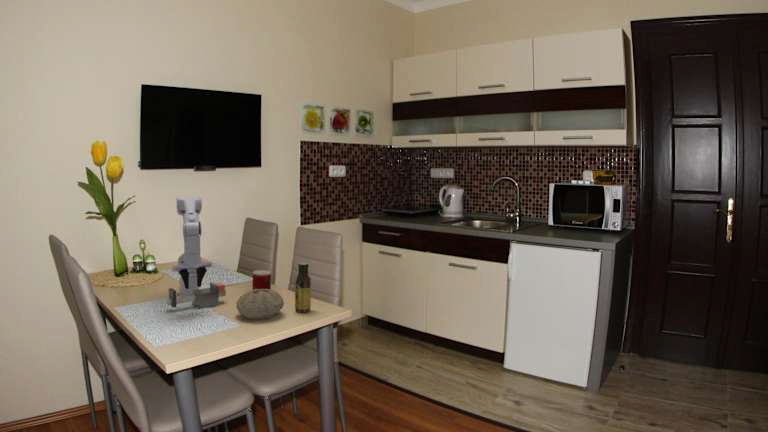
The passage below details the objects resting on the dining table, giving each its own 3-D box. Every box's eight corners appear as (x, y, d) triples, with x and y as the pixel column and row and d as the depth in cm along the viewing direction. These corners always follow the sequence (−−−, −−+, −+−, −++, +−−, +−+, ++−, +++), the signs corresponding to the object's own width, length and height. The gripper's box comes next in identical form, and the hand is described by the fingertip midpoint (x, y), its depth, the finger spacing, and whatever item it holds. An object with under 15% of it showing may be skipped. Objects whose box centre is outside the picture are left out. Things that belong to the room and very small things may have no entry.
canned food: (266, 299, 208) (267, 275, 207) (249, 297, 210) (249, 273, 208) (273, 294, 216) (274, 271, 214) (256, 293, 217) (257, 269, 216)
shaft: (165, 305, 190) (165, 289, 190) (222, 295, 205) (222, 280, 205) (169, 308, 187) (169, 291, 186) (227, 298, 202) (226, 283, 201)
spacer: (214, 289, 202) (213, 283, 202) (221, 288, 204) (220, 282, 204) (217, 292, 199) (217, 286, 199) (224, 291, 201) (224, 284, 201)
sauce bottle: (295, 308, 197) (296, 261, 195) (311, 308, 198) (311, 261, 196) (294, 313, 191) (294, 264, 188) (310, 313, 191) (310, 264, 189)
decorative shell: (227, 315, 187) (227, 290, 185) (265, 305, 200) (265, 282, 199) (254, 326, 175) (254, 299, 174) (293, 315, 189) (293, 290, 188)
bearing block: (192, 304, 199) (192, 285, 198) (212, 301, 204) (211, 282, 203) (199, 308, 193) (198, 288, 192) (218, 305, 199) (218, 285, 198)
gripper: (176, 256, 177) (176, 292, 179) (215, 252, 186) (215, 286, 188) (170, 253, 182) (170, 288, 184) (208, 249, 192) (208, 283, 193)
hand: (193, 287), depth 186 cm, fingers open, 4 cm apart
